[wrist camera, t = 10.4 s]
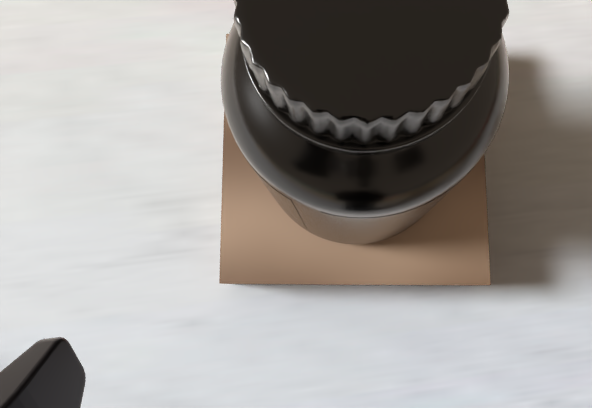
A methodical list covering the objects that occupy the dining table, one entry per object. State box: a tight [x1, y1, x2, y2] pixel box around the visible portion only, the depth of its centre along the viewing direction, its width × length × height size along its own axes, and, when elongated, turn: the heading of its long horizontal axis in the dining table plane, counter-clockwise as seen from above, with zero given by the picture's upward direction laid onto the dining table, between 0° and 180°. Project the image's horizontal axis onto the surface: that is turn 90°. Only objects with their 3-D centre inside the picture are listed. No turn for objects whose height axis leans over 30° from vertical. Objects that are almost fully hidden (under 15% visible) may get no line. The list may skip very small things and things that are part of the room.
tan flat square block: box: [220, 34, 491, 285], centre depth 22 cm, size 10×10×2 cm
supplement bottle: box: [221, 0, 509, 244], centre depth 15 cm, size 7×7×12 cm
